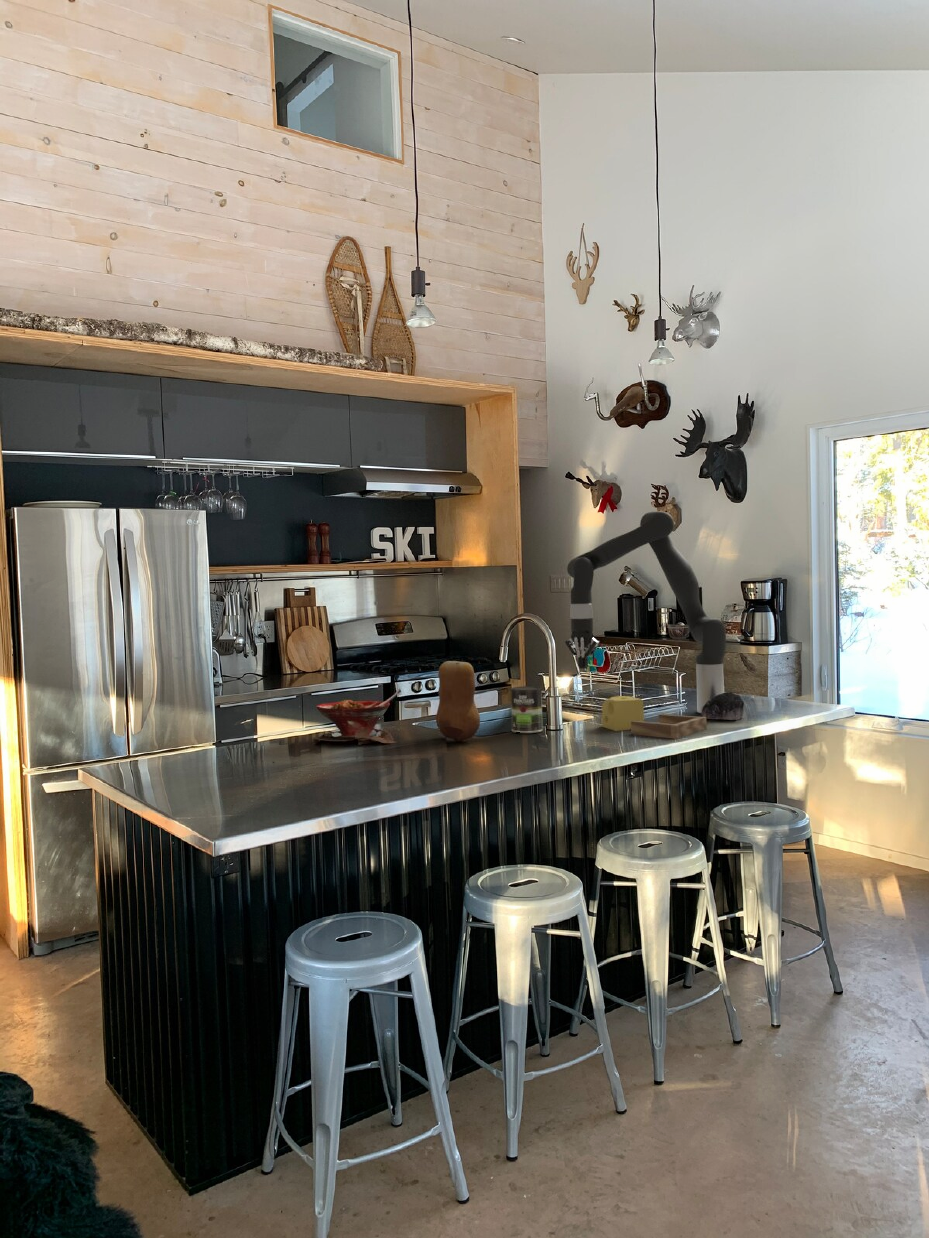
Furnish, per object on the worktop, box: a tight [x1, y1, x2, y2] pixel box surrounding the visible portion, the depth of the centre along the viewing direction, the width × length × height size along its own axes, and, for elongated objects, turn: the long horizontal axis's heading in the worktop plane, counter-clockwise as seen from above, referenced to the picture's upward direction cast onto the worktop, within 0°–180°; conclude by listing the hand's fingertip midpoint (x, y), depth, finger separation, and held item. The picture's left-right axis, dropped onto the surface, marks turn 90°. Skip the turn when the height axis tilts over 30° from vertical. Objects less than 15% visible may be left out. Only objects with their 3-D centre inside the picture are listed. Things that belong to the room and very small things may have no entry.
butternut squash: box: [435, 660, 481, 742], centre depth 300 cm, size 14×13×25 cm
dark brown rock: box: [701, 691, 745, 721], centre depth 321 cm, size 13×14×10 cm
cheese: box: [600, 695, 645, 732], centre depth 313 cm, size 10×11×10 cm
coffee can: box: [509, 685, 544, 734], centre depth 313 cm, size 10×10×14 cm
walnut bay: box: [630, 713, 707, 740], centre depth 301 cm, size 19×16×4 cm
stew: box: [312, 688, 402, 746], centre depth 304 cm, size 28×24×16 cm
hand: (583, 668), depth 322 cm, fingers closed
